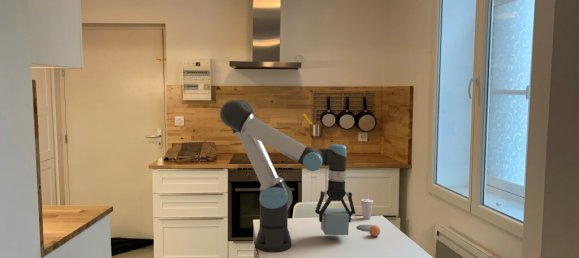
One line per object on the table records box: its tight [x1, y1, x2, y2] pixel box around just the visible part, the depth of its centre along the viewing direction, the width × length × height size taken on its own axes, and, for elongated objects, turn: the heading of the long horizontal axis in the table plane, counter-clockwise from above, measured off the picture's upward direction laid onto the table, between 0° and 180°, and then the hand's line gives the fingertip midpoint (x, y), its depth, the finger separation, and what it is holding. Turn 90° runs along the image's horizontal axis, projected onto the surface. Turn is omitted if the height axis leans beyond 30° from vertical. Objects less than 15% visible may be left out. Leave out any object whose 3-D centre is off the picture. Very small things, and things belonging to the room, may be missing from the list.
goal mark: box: [356, 224, 373, 232], centre depth 197 cm, size 10×10×1 cm
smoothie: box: [360, 191, 374, 221], centre depth 213 cm, size 6×6×14 cm
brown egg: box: [368, 224, 381, 237], centre depth 185 cm, size 5×5×5 cm
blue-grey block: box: [322, 208, 350, 236], centre depth 182 cm, size 10×10×9 cm
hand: (334, 229), depth 182 cm, fingers closed on blue-grey block, 10 cm apart
